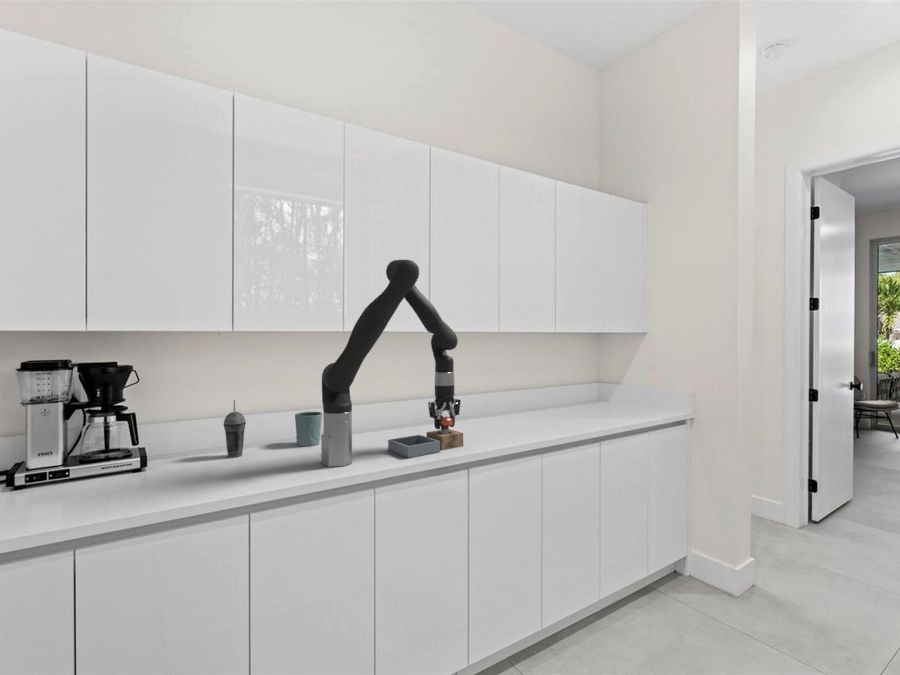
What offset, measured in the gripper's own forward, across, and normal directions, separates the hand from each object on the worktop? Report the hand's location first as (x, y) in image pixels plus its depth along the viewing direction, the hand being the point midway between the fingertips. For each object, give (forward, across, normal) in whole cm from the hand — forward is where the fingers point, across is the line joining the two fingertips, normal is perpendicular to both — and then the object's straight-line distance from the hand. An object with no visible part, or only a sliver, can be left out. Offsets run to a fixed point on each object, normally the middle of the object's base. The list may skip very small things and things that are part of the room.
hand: (444, 427), depth 178 cm
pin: (+7, 0, 0) cm, 7 cm away
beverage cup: (+7, -67, +34) cm, 75 cm away
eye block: (+7, 0, 0) cm, 7 cm away
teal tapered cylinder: (+7, -40, +35) cm, 54 cm away
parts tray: (+7, -14, 0) cm, 16 cm away
